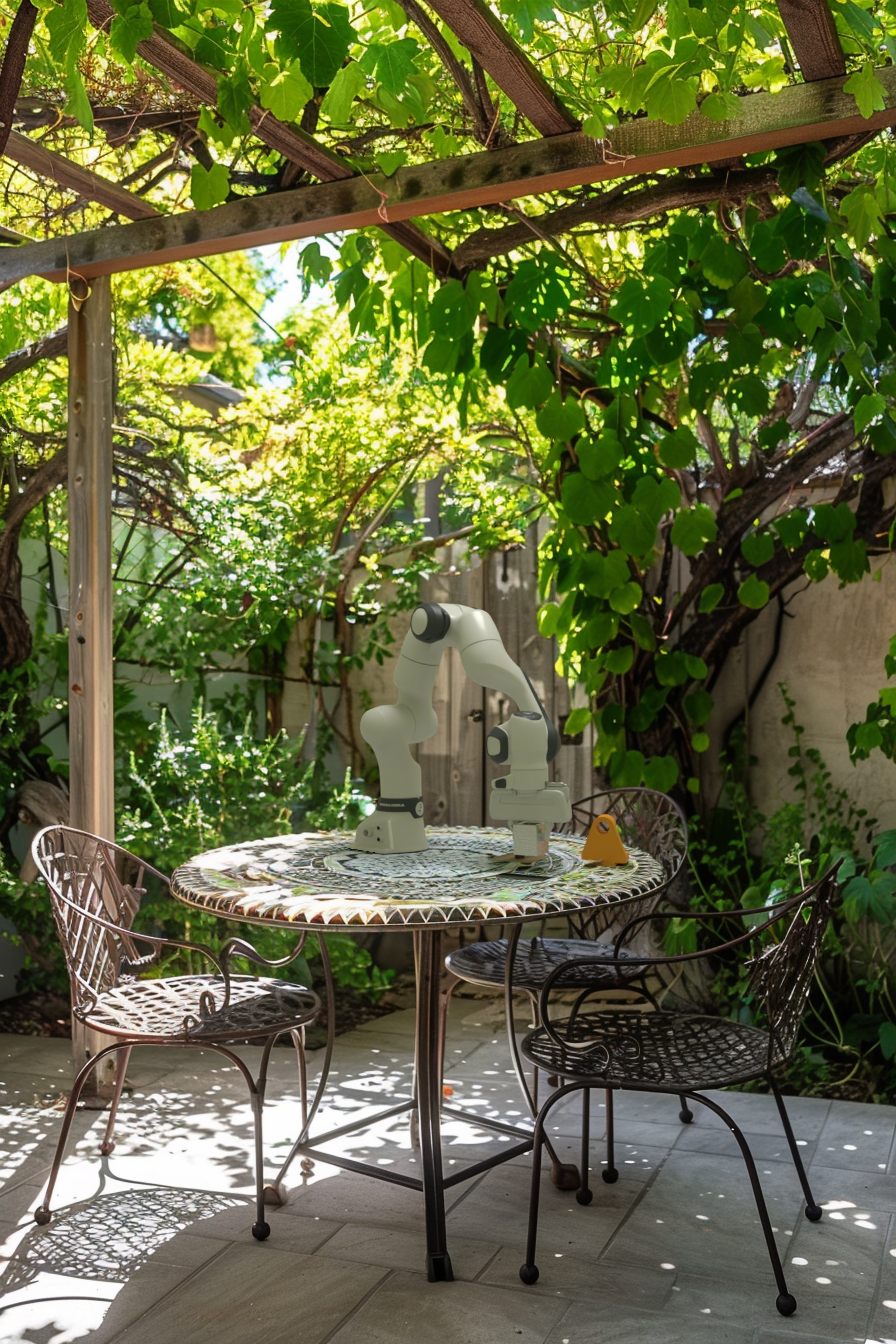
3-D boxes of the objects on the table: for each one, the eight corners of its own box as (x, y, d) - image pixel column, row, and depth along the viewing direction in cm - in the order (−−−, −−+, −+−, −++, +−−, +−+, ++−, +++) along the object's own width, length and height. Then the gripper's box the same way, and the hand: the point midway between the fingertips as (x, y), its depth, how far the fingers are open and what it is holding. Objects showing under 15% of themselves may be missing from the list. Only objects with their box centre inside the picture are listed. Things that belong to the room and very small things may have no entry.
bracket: (629, 861, 305) (628, 813, 305) (625, 866, 298) (624, 817, 298) (586, 860, 308) (585, 812, 308) (581, 865, 301) (580, 816, 301)
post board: (486, 865, 304) (485, 835, 304) (510, 858, 314) (509, 828, 314) (530, 869, 297) (529, 838, 297) (552, 861, 308) (551, 831, 308)
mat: (496, 877, 287) (496, 875, 287) (520, 869, 298) (520, 866, 298) (542, 881, 281) (542, 878, 281) (565, 872, 291) (565, 870, 291)
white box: (513, 854, 288) (513, 824, 288) (526, 850, 293) (525, 821, 293) (536, 856, 285) (536, 825, 285) (548, 852, 290) (548, 822, 290)
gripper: (575, 781, 286) (577, 840, 287) (498, 778, 297) (499, 836, 297) (563, 783, 281) (565, 844, 281) (485, 781, 292) (486, 839, 292)
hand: (531, 840), depth 289 cm, fingers closed on white box, 6 cm apart
